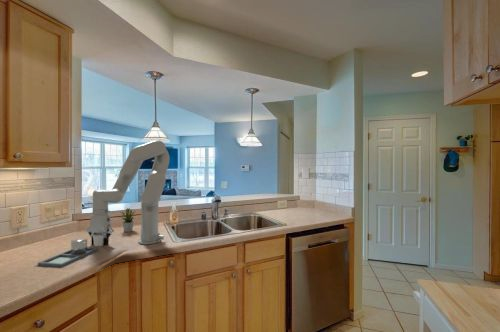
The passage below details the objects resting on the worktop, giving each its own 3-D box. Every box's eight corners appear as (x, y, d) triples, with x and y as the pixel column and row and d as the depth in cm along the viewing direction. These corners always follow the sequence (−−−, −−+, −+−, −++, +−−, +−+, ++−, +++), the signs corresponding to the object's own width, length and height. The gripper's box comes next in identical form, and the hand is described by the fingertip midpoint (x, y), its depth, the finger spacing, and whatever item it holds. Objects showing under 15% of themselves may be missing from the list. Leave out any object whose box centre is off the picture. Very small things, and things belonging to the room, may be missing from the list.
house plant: (113, 229, 176) (113, 206, 176) (134, 227, 185) (135, 204, 185) (117, 234, 165) (117, 209, 165) (140, 231, 173) (140, 207, 173)
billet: (90, 251, 129) (90, 238, 129) (79, 256, 122) (80, 242, 122) (78, 250, 130) (78, 238, 129) (67, 255, 123) (67, 242, 123)
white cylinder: (96, 244, 144) (96, 232, 144) (109, 244, 144) (109, 232, 144) (90, 248, 137) (90, 235, 137) (103, 248, 137) (103, 235, 137)
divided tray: (101, 251, 132) (101, 247, 132) (61, 271, 108) (61, 265, 108) (77, 250, 133) (77, 246, 133) (33, 269, 110) (33, 263, 110)
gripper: (119, 211, 143) (118, 243, 143) (91, 210, 145) (90, 241, 145) (110, 214, 136) (109, 247, 136) (80, 212, 138) (80, 245, 138)
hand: (100, 244), depth 140 cm, fingers closed on white cylinder, 6 cm apart
